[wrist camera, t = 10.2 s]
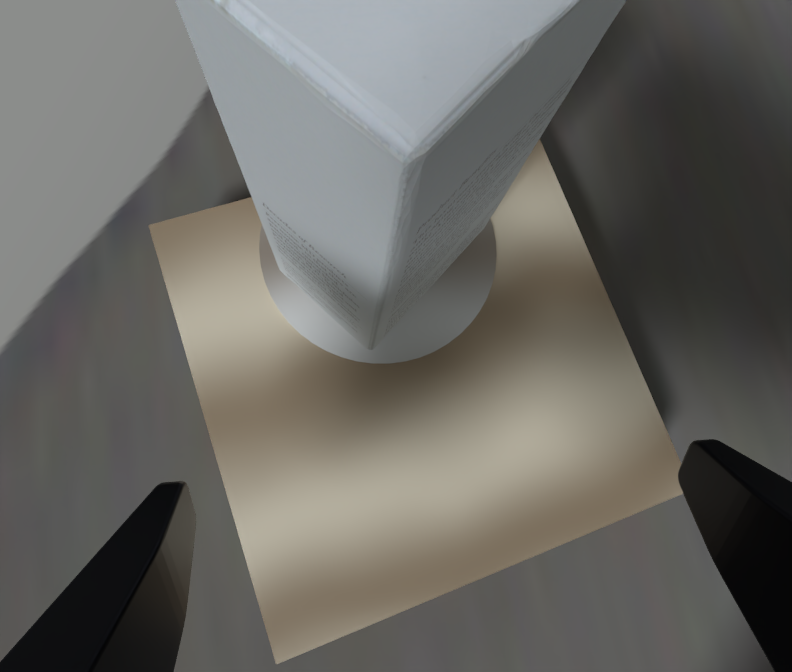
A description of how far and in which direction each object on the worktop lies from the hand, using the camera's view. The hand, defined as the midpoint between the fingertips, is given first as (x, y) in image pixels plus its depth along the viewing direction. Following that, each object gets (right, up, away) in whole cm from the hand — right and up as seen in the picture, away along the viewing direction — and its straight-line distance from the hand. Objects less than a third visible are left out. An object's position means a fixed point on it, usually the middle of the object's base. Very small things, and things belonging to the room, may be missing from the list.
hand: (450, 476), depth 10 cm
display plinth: (-1, +1, +12) cm, 12 cm away
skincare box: (-1, +5, +9) cm, 10 cm away
